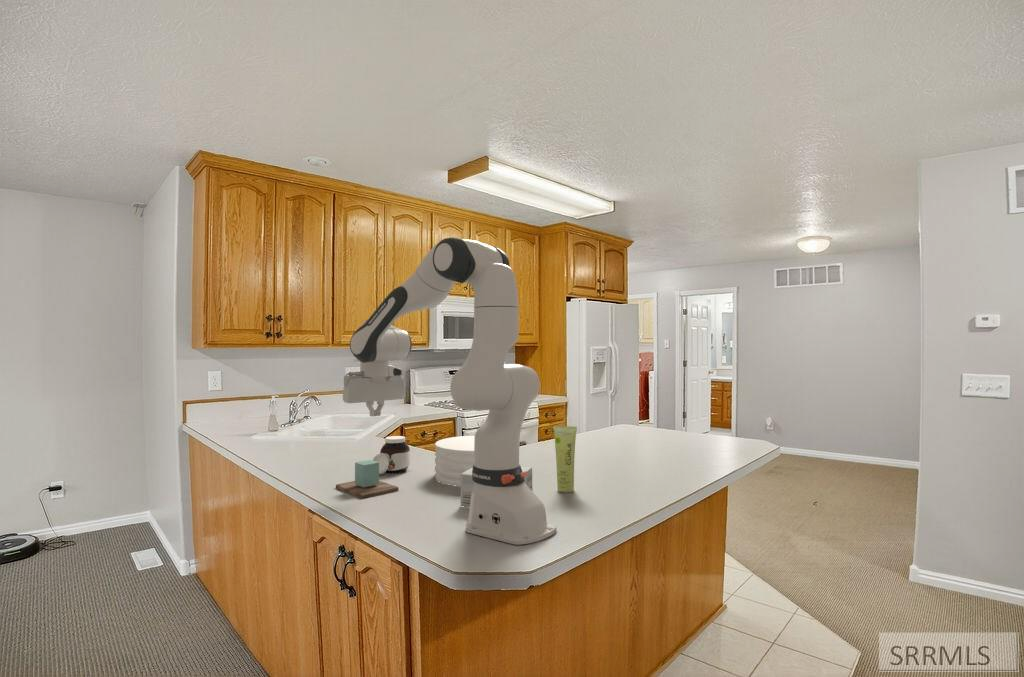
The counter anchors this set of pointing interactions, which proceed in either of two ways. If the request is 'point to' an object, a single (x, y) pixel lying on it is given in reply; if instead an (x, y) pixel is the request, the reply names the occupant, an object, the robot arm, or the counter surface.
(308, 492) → the counter surface
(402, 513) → the counter surface
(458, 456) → the plate stack
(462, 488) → the supplement box
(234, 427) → the counter surface
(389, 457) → the spread jar
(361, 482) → the teal rectangular block
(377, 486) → the post stand
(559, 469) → the tube
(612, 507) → the counter surface
